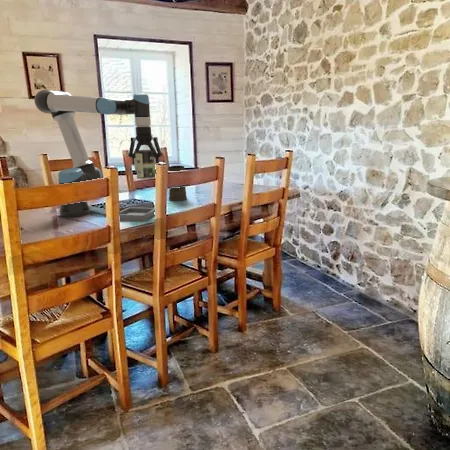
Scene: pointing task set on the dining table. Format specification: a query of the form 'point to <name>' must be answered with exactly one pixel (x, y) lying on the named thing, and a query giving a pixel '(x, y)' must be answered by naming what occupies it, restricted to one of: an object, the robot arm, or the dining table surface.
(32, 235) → the dining table surface
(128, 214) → the holder tray
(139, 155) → the coffee can
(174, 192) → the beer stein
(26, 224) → the dining table surface
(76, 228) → the dining table surface
